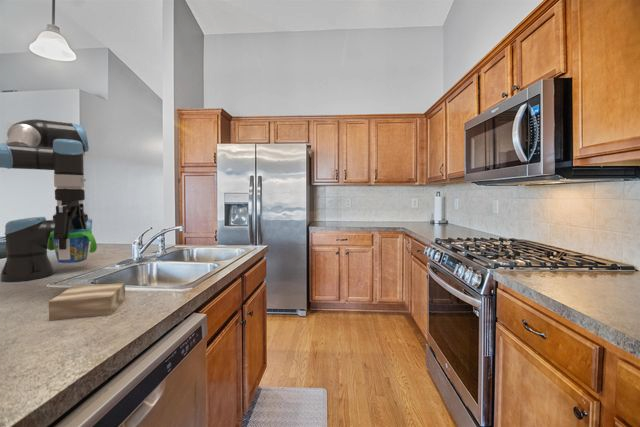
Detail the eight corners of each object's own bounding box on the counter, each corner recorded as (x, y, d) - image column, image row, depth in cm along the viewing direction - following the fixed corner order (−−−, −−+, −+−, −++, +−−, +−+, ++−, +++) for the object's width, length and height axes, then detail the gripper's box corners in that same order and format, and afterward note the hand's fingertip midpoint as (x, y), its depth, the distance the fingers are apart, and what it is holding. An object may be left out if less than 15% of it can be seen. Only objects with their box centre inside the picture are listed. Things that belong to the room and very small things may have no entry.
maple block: (72, 302, 94) (72, 286, 94) (125, 298, 99) (124, 282, 98) (49, 320, 81) (48, 301, 81) (111, 314, 86) (110, 296, 85)
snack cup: (106, 259, 105) (105, 229, 104) (76, 266, 95) (75, 234, 94) (69, 256, 108) (68, 227, 107) (36, 263, 98) (34, 231, 97)
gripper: (67, 188, 90) (70, 263, 92) (96, 188, 112) (98, 248, 113) (35, 188, 88) (39, 264, 89) (71, 187, 109) (74, 249, 111)
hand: (72, 255), depth 101 cm, fingers closed on snack cup, 10 cm apart
